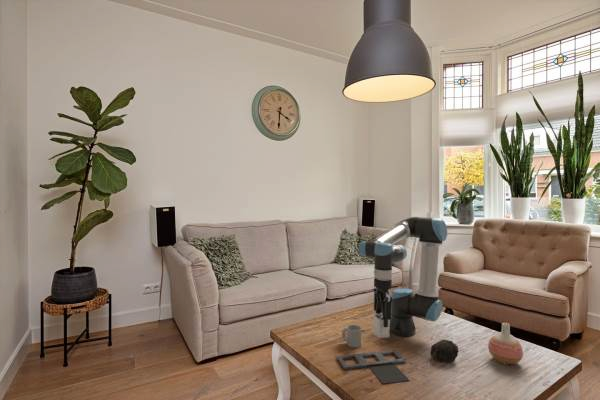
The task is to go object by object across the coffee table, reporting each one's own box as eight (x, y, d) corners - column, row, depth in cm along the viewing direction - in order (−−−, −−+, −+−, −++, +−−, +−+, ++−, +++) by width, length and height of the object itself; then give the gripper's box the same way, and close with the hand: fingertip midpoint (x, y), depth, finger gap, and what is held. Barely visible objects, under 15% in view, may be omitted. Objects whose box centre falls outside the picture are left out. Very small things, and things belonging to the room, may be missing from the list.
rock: (425, 355, 154) (429, 335, 154) (442, 353, 159) (446, 334, 158) (441, 367, 145) (446, 346, 144) (459, 366, 150) (464, 345, 149)
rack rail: (395, 352, 159) (395, 349, 158) (405, 363, 149) (405, 360, 149) (336, 358, 152) (336, 356, 152) (343, 370, 142) (344, 367, 142)
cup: (360, 349, 161) (360, 331, 161) (340, 346, 165) (340, 328, 164) (362, 342, 168) (362, 325, 168) (343, 339, 171) (343, 323, 171)
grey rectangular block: (384, 332, 146) (384, 314, 145) (389, 337, 141) (389, 318, 141) (373, 332, 145) (374, 315, 145) (378, 337, 140) (378, 319, 140)
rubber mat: (395, 365, 146) (395, 364, 146) (409, 380, 135) (409, 379, 135) (370, 368, 144) (370, 367, 144) (382, 384, 132) (382, 383, 132)
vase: (511, 372, 142) (512, 332, 141) (481, 358, 154) (482, 321, 153) (529, 365, 148) (530, 326, 147) (498, 351, 160) (499, 316, 159)
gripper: (366, 273, 150) (365, 323, 151) (383, 284, 133) (382, 340, 133) (382, 273, 152) (381, 322, 152) (400, 283, 134) (399, 339, 134)
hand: (381, 330), depth 143 cm, fingers closed on grey rectangular block, 5 cm apart
